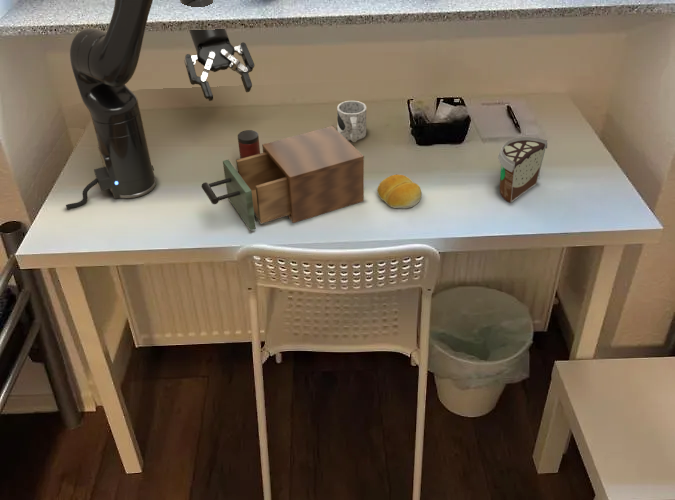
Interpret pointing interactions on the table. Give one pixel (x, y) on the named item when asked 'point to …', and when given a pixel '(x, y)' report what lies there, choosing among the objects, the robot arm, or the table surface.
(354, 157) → the cabinet
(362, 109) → the mug
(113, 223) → the table surface
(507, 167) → the food container
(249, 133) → the red canister
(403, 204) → the bread roll
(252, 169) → the drawer
